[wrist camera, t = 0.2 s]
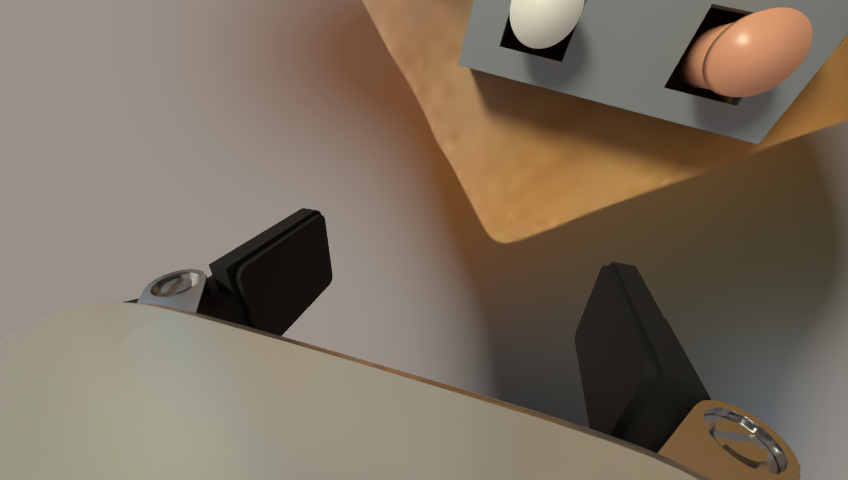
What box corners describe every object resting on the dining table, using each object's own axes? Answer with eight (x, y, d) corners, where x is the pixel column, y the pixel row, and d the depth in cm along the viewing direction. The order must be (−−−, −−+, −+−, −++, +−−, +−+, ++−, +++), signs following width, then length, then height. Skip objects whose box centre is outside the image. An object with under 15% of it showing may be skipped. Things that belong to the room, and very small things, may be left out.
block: (499, -56, 28) (493, -82, 23) (810, 7, 25) (881, -8, 20) (468, 65, 34) (458, 65, 29) (720, 131, 30) (758, 144, 25)
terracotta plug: (700, 13, 24) (746, -1, 19) (770, 28, 23) (836, 17, 18) (660, 83, 27) (691, 86, 22) (722, 98, 26) (768, 105, 21)
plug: (525, -24, 26) (525, -47, 21) (585, -11, 25) (599, -31, 20) (505, 44, 28) (500, 39, 23) (558, 57, 28) (564, 55, 23)
